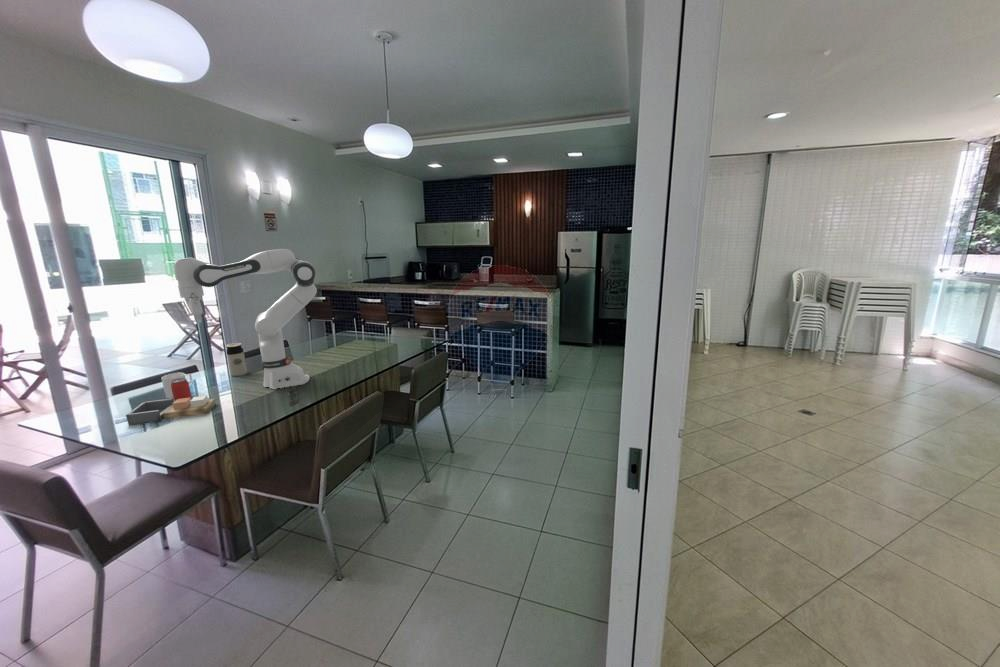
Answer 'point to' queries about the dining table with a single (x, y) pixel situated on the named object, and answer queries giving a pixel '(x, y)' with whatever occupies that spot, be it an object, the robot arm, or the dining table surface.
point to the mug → (169, 378)
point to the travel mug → (236, 359)
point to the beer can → (180, 389)
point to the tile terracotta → (181, 403)
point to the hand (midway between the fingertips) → (198, 321)
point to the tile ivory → (199, 401)
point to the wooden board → (189, 410)
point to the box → (149, 412)
